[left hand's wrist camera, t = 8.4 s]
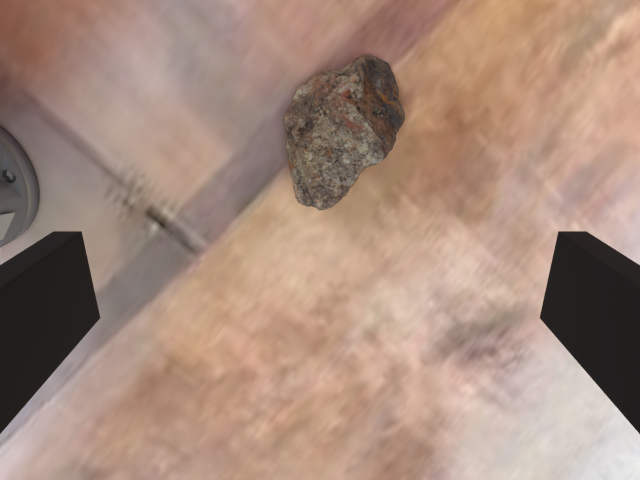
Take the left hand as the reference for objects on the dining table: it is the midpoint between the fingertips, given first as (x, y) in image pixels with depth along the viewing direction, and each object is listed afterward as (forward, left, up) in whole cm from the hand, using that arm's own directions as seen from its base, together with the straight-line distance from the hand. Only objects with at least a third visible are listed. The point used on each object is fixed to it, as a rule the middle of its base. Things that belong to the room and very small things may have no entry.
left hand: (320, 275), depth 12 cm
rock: (+1, +1, -35) cm, 35 cm away
